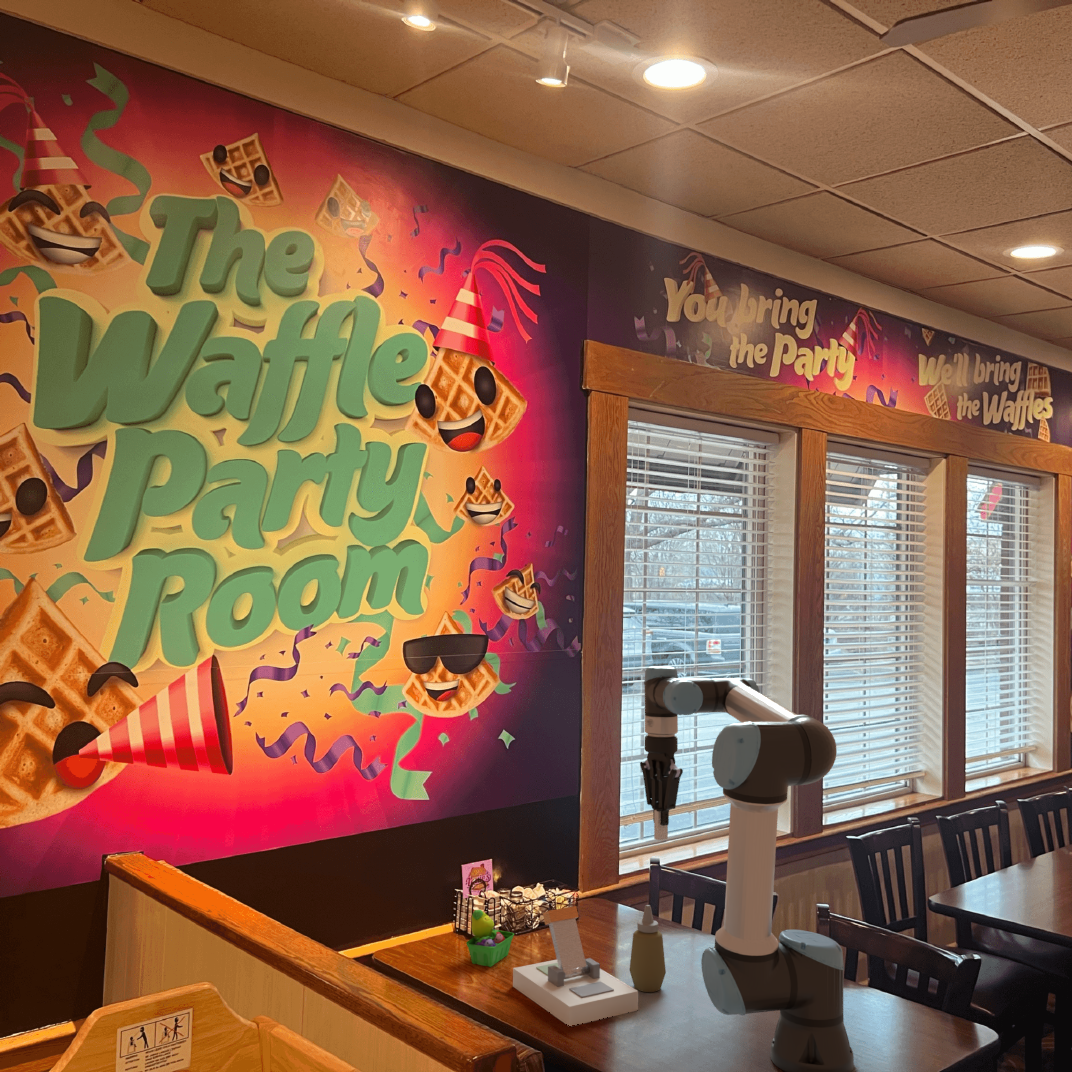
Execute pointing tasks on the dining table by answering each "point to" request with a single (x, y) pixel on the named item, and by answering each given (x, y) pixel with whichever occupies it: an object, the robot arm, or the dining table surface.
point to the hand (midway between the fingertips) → (661, 838)
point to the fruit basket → (487, 941)
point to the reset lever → (567, 941)
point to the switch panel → (575, 992)
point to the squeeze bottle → (647, 954)
